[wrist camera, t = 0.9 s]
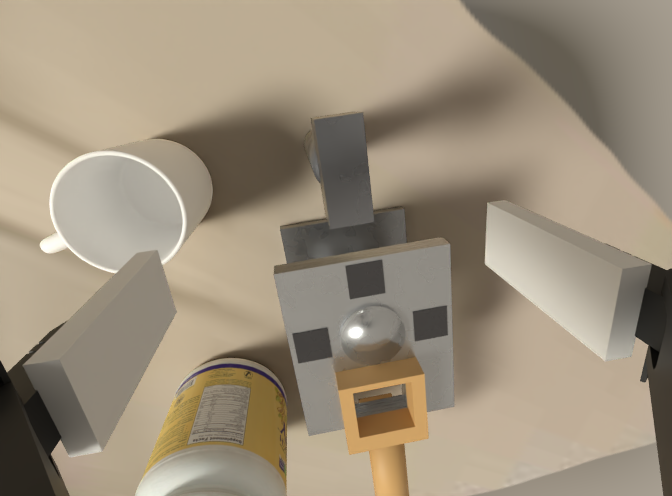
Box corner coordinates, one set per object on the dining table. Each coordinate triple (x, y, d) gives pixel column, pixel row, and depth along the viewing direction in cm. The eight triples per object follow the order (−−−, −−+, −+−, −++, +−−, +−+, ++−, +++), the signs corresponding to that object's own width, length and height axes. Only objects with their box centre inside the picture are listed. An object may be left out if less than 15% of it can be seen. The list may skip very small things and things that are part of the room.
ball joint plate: (277, 224, 36) (273, 277, 25) (403, 204, 37) (453, 246, 26) (303, 351, 42) (309, 440, 30) (412, 330, 42) (456, 411, 31)
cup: (231, 207, 35) (210, 245, 26) (116, 259, 35) (54, 314, 26) (183, 121, 32) (140, 128, 23) (58, 179, 32) (-36, 209, 23)
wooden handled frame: (331, 349, 32) (338, 390, 27) (404, 335, 32) (424, 373, 27) (355, 490, 38) (364, 543, 33) (416, 477, 38) (434, 528, 34)
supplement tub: (285, 436, 46) (283, 610, 30) (179, 439, 44) (119, 625, 28) (289, 352, 41) (291, 501, 26) (173, 351, 40) (99, 511, 24)
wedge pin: (298, 114, 33) (307, 120, 18) (332, 109, 33) (369, 111, 18) (309, 177, 35) (324, 230, 20) (340, 172, 35) (379, 221, 20)
